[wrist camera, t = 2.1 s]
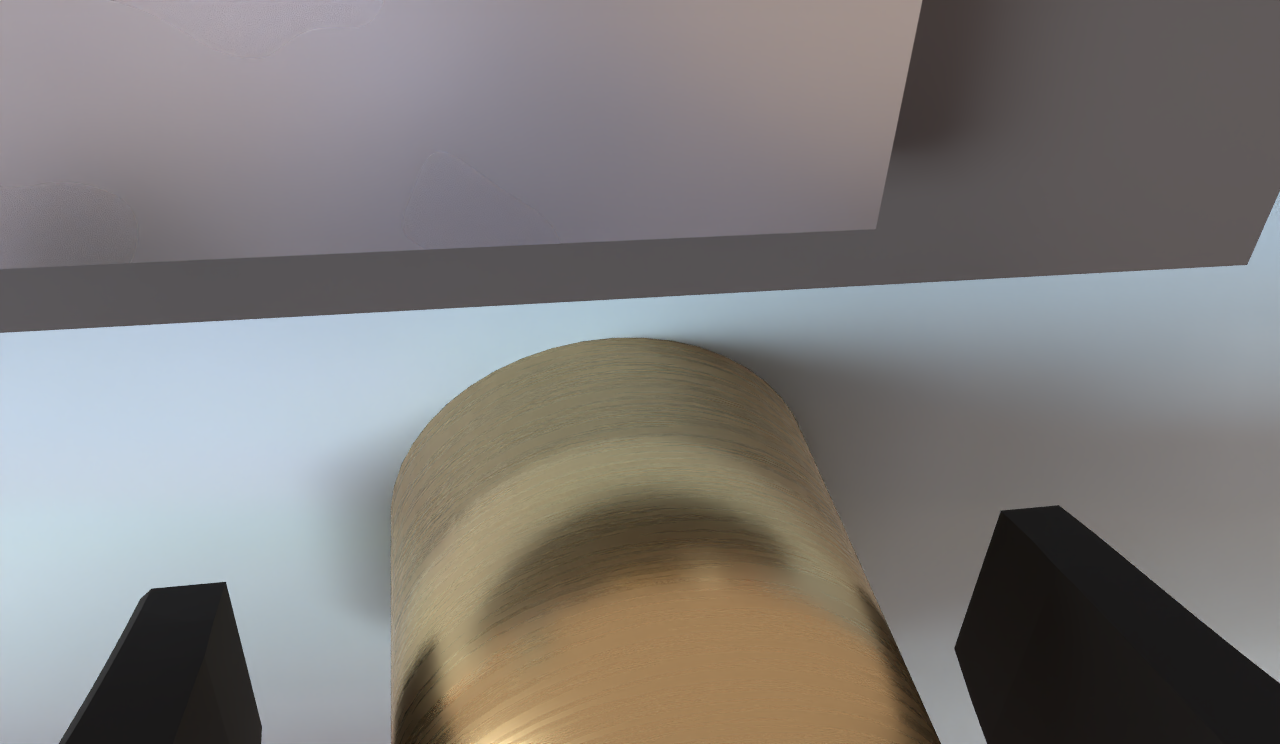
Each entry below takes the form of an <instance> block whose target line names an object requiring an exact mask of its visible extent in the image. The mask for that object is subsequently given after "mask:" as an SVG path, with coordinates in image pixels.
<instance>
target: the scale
mask: <svg viewBox="0 0 1280 744" xmlns="http://www.w3.org/2000/svg"><path fill="white" fill-rule="evenodd" d="M1279 191H1280V0H922V5H921V10H920V15H919V19H918V24H917V29H916V34H915V39H914V44H913V49H912V54H911V59H910V64H909V69H908V73H907V78H906V83H905V88H904V93H903V98H902V103H901V108H900V113H899V118H898V123H897V128H896V132H895V137H894V142H893V147H892V152H891V157H890V162H889V167H888V172H887V177H886V182H885V186H884V191H883V196H882V201H881V206H880V211H879V216H878V221H877V226H876V229H868V230H846V231H824V232H802V233H780V234H758V235H737V236H715V237H693V238H671V239H649V240H627V241H605V242H583V243H561V244H539V245H517V246H495V247H473V248H451V249H429V250H407V251H385V252H363V253H341V254H319V255H297V256H275V257H253V258H231V259H210V260H188V261H166V262H144V263H122V264H100V265H78V266H56V267H34V268H12V269H0V333H4V332H23V331H41V330H59V329H78V328H96V327H114V326H133V325H151V324H169V323H188V322H206V321H224V320H243V319H261V318H279V317H298V316H316V315H334V314H353V313H371V312H389V311H408V310H426V309H444V308H463V307H481V306H499V305H518V304H536V303H554V302H573V301H591V300H609V299H628V298H646V297H664V296H683V295H701V294H719V293H738V292H756V291H774V290H793V289H811V288H829V287H848V286H866V285H884V284H903V283H921V282H939V281H958V280H976V279H994V278H1013V277H1031V276H1049V275H1068V274H1086V273H1104V272H1123V271H1141V270H1159V269H1178V268H1196V267H1214V266H1233V265H1247V264H1248V262H1249V259H1250V257H1251V255H1252V252H1253V250H1254V248H1255V246H1256V243H1257V241H1258V239H1259V237H1260V234H1261V232H1262V230H1263V228H1264V225H1265V223H1266V221H1267V218H1268V216H1269V214H1270V212H1271V209H1272V207H1273V205H1274V203H1275V200H1276V198H1277V196H1278V193H1279Z"/></svg>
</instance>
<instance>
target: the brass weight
mask: <svg viewBox="0 0 1280 744" xmlns="http://www.w3.org/2000/svg"><path fill="white" fill-rule="evenodd" d="M391 744H941V743H940V741H939V738H938V736H937V734H936V732H935V729H934V727H933V725H932V723H931V721H930V718H929V716H928V714H927V712H926V709H925V707H924V705H923V703H922V700H921V698H920V696H919V694H918V692H917V689H916V687H915V685H914V683H913V680H912V678H911V676H910V674H909V671H908V669H907V667H906V665H905V663H904V660H903V658H902V656H901V654H900V651H899V649H898V647H897V645H896V642H895V640H894V638H893V636H892V634H891V631H890V629H889V627H888V625H887V622H886V620H885V618H884V616H883V613H882V611H881V609H880V607H879V605H878V602H877V600H876V598H875V596H874V593H873V591H872V589H871V587H870V584H869V582H868V580H867V578H866V576H865V573H864V571H863V569H862V567H861V564H860V562H859V560H858V558H857V555H856V553H855V551H854V549H853V547H852V544H851V542H850V540H849V538H848V535H847V533H846V531H845V529H844V526H843V524H842V522H841V520H840V518H839V515H838V513H837V511H836V509H835V506H834V504H833V502H832V500H831V497H830V495H829V493H828V491H827V489H826V486H825V484H824V482H823V480H822V477H821V475H820V473H819V471H818V468H817V466H816V464H815V462H814V460H813V457H812V455H811V453H810V451H809V448H808V446H807V444H806V442H805V439H804V437H803V435H802V433H801V431H800V428H799V426H798V424H797V422H796V420H795V418H794V415H793V414H792V412H791V411H790V409H789V408H788V407H787V405H786V404H785V402H784V401H783V399H782V398H781V397H780V396H779V395H778V394H777V393H776V392H775V391H774V390H773V389H772V388H771V387H770V386H769V385H768V384H767V383H766V382H765V381H764V380H763V379H761V378H760V377H758V376H757V375H756V374H754V373H753V372H752V371H750V370H749V369H747V368H746V367H744V366H742V365H740V364H738V363H736V362H735V361H733V360H731V359H729V358H727V357H725V356H723V355H720V354H717V353H714V352H712V351H709V350H706V349H703V348H701V347H697V346H692V345H688V344H684V343H679V342H675V341H668V340H659V339H649V338H609V339H600V340H591V341H583V342H578V343H574V344H569V345H565V346H560V347H556V348H551V349H549V350H546V351H543V352H540V353H537V354H534V355H531V356H528V357H525V358H522V359H520V360H518V361H516V362H513V363H511V364H509V365H507V366H505V367H503V368H500V369H498V370H496V371H494V372H493V373H491V374H489V375H488V376H486V377H484V378H483V379H481V380H479V381H478V382H476V383H474V384H473V385H471V386H470V387H468V388H467V389H466V390H464V391H463V392H462V393H461V394H459V395H458V396H457V397H456V398H454V399H453V400H452V401H450V402H449V403H448V404H447V405H446V406H445V407H444V408H443V409H442V410H441V411H440V412H439V413H438V414H437V415H436V416H435V417H434V418H433V419H432V420H431V421H430V422H429V423H428V424H427V426H426V427H425V428H424V430H423V431H422V432H421V434H420V435H419V436H418V438H417V439H416V440H415V442H414V443H413V445H412V446H411V448H410V450H409V452H408V454H407V456H406V457H405V459H404V461H403V463H402V465H401V468H400V471H399V474H398V477H397V480H396V482H395V485H394V491H393V497H392V503H391Z"/></svg>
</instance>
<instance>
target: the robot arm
mask: <svg viewBox="0 0 1280 744" xmlns="http://www.w3.org/2000/svg"><path fill="white" fill-rule="evenodd" d="M954 649H955V652H956V655H957V658H958V661H959V664H960V667H961V670H962V673H963V676H964V679H965V682H966V685H967V688H968V692H969V695H970V698H971V701H972V703H973V706H974V709H975V712H976V714H977V717H978V720H979V723H980V725H981V728H982V731H983V734H984V736H985V739H986V742H987V744H1280V683H1278V682H1277V681H1276V680H1275V679H1273V678H1272V677H1271V676H1269V675H1268V674H1267V673H1266V672H1264V671H1263V670H1262V669H1260V668H1259V667H1258V666H1257V665H1255V664H1254V663H1253V662H1252V661H1250V660H1249V659H1248V658H1247V657H1245V656H1244V655H1243V654H1241V653H1240V652H1239V651H1238V650H1236V649H1235V648H1234V647H1233V646H1231V645H1230V644H1229V643H1228V642H1226V641H1225V640H1224V639H1223V638H1221V637H1220V636H1219V635H1218V634H1216V633H1215V632H1214V631H1213V630H1212V629H1210V628H1209V627H1208V626H1207V625H1205V624H1204V623H1203V622H1202V621H1200V620H1199V619H1198V618H1197V617H1195V616H1194V615H1193V614H1192V613H1191V612H1189V611H1188V610H1187V609H1186V608H1184V607H1183V606H1182V605H1181V604H1180V603H1178V602H1177V601H1176V600H1175V599H1174V598H1172V597H1171V596H1170V595H1169V594H1167V593H1166V592H1165V591H1164V590H1163V589H1161V588H1160V587H1159V586H1158V585H1157V584H1155V583H1154V582H1153V581H1152V580H1150V579H1149V578H1148V577H1147V576H1146V575H1144V574H1143V573H1142V572H1141V571H1140V570H1138V569H1137V568H1136V567H1135V566H1134V565H1132V564H1131V563H1130V562H1129V561H1127V560H1126V559H1125V558H1124V557H1123V556H1121V555H1120V554H1119V553H1118V552H1117V551H1115V550H1114V549H1113V548H1112V547H1110V546H1109V545H1108V544H1107V543H1106V542H1104V541H1103V540H1102V539H1101V538H1099V537H1098V536H1097V535H1096V534H1095V533H1093V532H1092V531H1091V530H1090V529H1088V528H1087V527H1086V526H1085V525H1083V524H1082V523H1081V522H1080V521H1078V520H1077V519H1076V518H1074V517H1073V516H1072V515H1071V514H1069V513H1068V512H1067V511H1065V510H1064V509H1063V508H1061V507H1060V506H1059V505H1058V506H1047V507H1036V508H1026V509H1015V510H1004V511H1001V512H1000V515H999V518H998V521H997V524H996V527H995V530H994V533H993V536H992V539H991V542H990V544H989V547H988V550H987V553H986V556H985V559H984V562H983V565H982V568H981V571H980V574H979V577H978V580H977V583H976V586H975V589H974V592H973V595H972V598H971V600H970V603H969V606H968V609H967V612H966V615H965V618H964V621H963V624H962V627H961V630H960V633H959V636H958V639H957V642H956V645H955V648H954ZM261 733H262V726H261V722H260V718H259V714H258V710H257V706H256V702H255V698H254V693H253V689H252V685H251V681H250V677H249V673H248V669H247V665H246V661H245V657H244V653H243V649H242V645H241V641H240V637H239V633H238V629H237V625H236V621H235V617H234V613H233V609H232V605H231V601H230V597H229V593H228V589H227V585H226V582H219V583H208V584H198V585H187V586H176V587H165V588H154V589H151V590H150V591H149V592H148V593H146V594H145V595H144V596H143V597H142V598H141V599H140V601H139V603H138V605H137V606H136V608H135V610H134V612H133V614H132V616H131V618H130V620H129V622H128V624H127V626H126V627H125V629H124V631H123V633H122V635H121V637H120V639H119V640H118V642H117V644H116V646H115V648H114V650H113V651H112V653H111V655H110V657H109V659H108V660H107V662H106V664H105V666H104V668H103V669H102V671H101V673H100V675H99V676H98V678H97V680H96V682H95V683H94V685H93V687H92V689H91V690H90V692H89V694H88V696H87V697H86V699H85V701H84V702H83V704H82V706H81V707H80V709H79V711H78V712H77V714H76V716H75V717H74V719H73V721H72V722H71V724H70V726H69V728H68V729H67V731H66V733H65V734H64V736H63V738H62V739H61V741H60V743H59V744H261Z"/></svg>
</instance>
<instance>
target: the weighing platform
mask: <svg viewBox="0 0 1280 744" xmlns="http://www.w3.org/2000/svg"><path fill="white" fill-rule="evenodd" d="M921 5H922V0H0V269H12V268H34V267H56V266H78V265H100V264H122V263H144V262H166V261H188V260H210V259H231V258H253V257H275V256H297V255H319V254H341V253H363V252H385V251H407V250H429V249H451V248H473V247H495V246H517V245H539V244H561V243H583V242H605V241H627V240H649V239H671V238H693V237H715V236H737V235H758V234H780V233H802V232H824V231H846V230H868V229H876V226H877V221H878V216H879V211H880V206H881V201H882V196H883V191H884V186H885V182H886V177H887V172H888V167H889V162H890V157H891V152H892V147H893V142H894V137H895V132H896V128H897V123H898V118H899V113H900V108H901V103H902V98H903V93H904V88H905V83H906V78H907V73H908V69H909V64H910V59H911V54H912V49H913V44H914V39H915V34H916V29H917V24H918V19H919V15H920V10H921Z"/></svg>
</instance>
